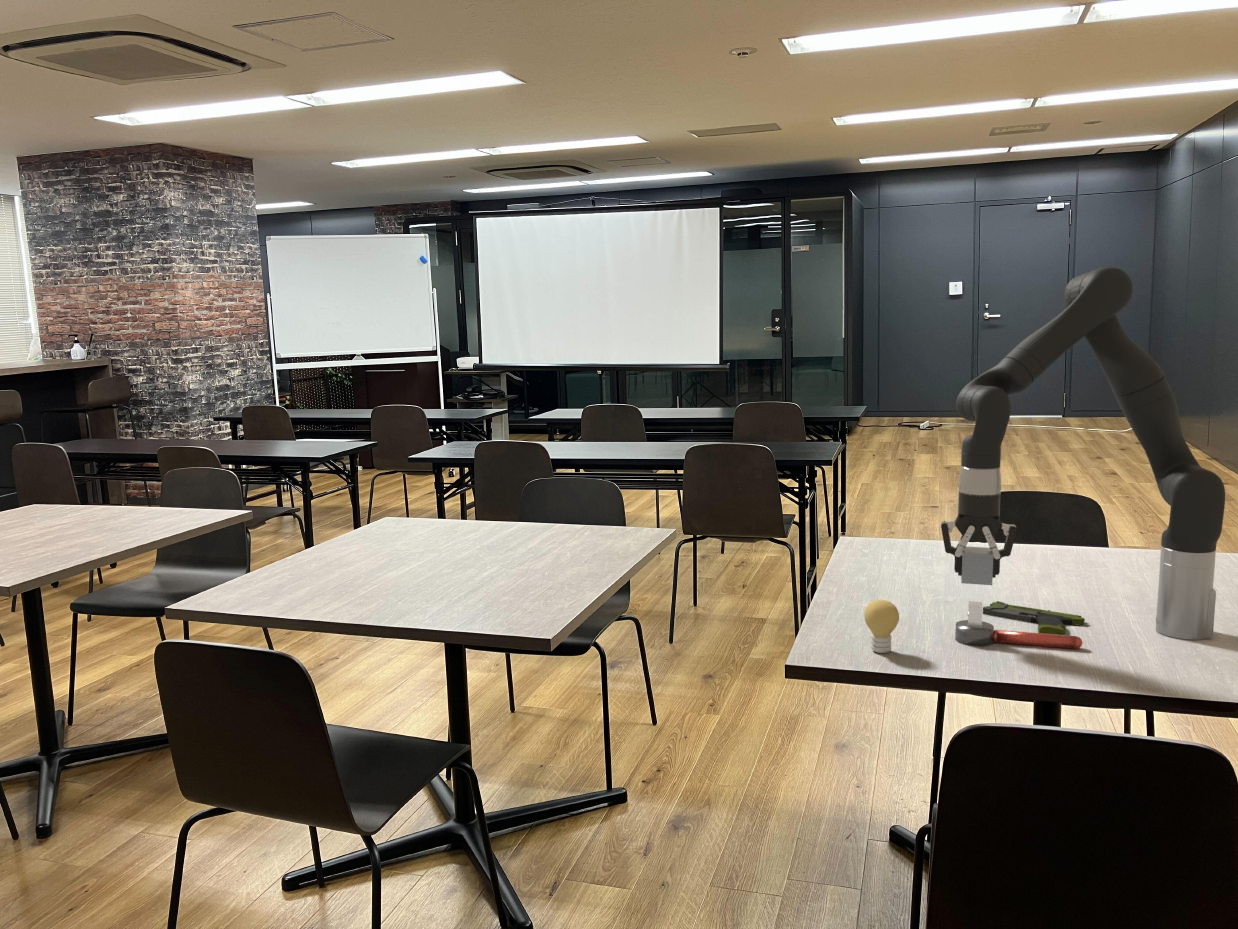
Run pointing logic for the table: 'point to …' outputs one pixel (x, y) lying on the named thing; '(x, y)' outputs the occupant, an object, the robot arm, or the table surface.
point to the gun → (1035, 617)
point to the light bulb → (881, 624)
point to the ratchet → (1005, 633)
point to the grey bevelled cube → (977, 566)
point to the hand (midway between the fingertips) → (976, 575)
